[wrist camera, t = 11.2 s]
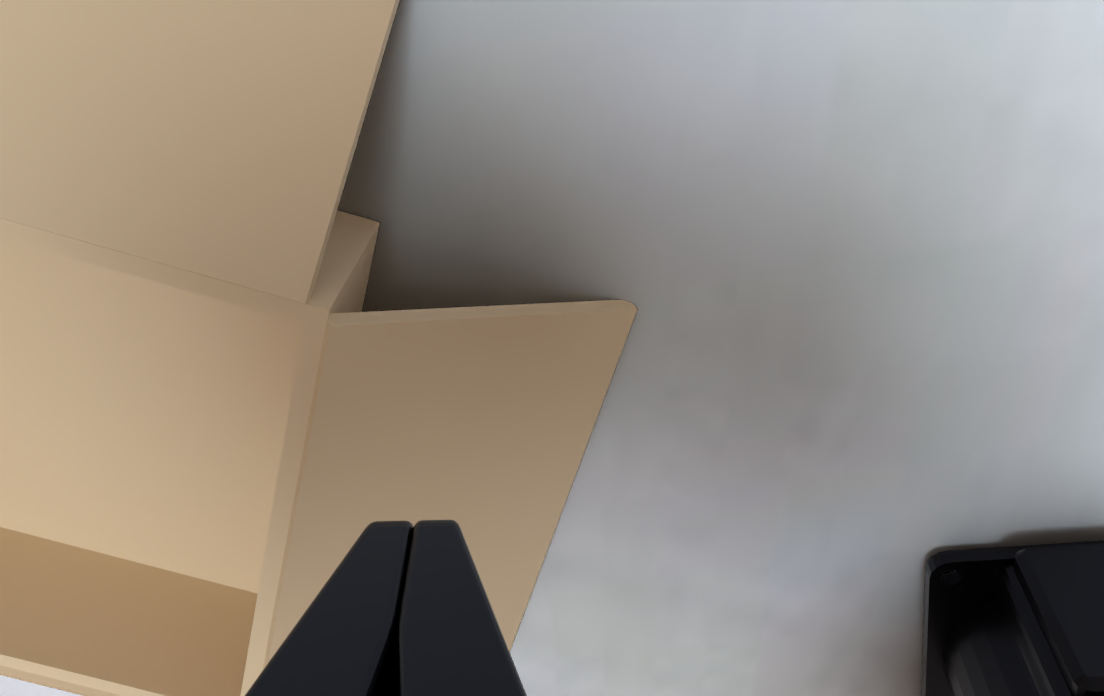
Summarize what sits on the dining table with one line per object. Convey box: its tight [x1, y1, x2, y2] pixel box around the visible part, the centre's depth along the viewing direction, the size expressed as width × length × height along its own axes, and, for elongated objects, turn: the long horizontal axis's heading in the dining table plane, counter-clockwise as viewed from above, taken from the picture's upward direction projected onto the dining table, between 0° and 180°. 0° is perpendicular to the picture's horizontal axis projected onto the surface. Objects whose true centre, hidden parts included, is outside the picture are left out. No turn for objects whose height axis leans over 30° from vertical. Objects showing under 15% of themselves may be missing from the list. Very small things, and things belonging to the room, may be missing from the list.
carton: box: [0, 0, 638, 696], centre depth 22 cm, size 16×24×4 cm
